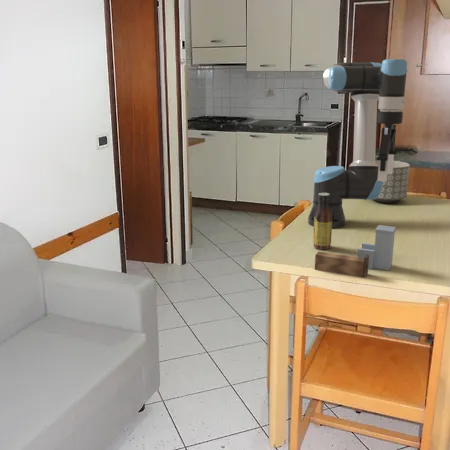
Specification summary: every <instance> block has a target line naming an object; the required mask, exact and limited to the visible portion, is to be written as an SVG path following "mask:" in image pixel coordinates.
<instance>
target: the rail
mask: <svg viewBox="0 0 450 450" xmlns="http://www.w3.org/2000/svg"><path fill="white" fill-rule="evenodd" d="M314 257H315V258H314V270H315V271H323V272H327V273H334V274H340V275H345V276H346V275H347V276H350V277H351V276H353V277H359V278H364V279H366V277H367V276H368V274H369V273H368V271H369V268H368V264H369V255H368V254H366V256H365V257H364V258H360V257H357V256H351V255H345V254H338V253H332V252H325V251H317V253H315V256H314Z"/></svg>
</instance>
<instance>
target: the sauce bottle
mask: <svg viewBox="0 0 450 450" xmlns="http://www.w3.org/2000/svg"><path fill="white" fill-rule="evenodd" d="M318 198H319V200H318V207H317V210H316V212H315V215H314V226H313V241H312V243H313V248H314V249H317V250H322V251H325V250H329V249H330V248H331V246H332V245H331V244H332V231H333V228H332V212H331V210H330V208H329V199H330V194H329V193H319V194H318Z"/></svg>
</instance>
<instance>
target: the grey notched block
mask: <svg viewBox="0 0 450 450" xmlns="http://www.w3.org/2000/svg"><path fill="white" fill-rule="evenodd" d="M396 231H397V227H396V226H392V225H391V226H389V225H382V224H378V225H377V227H376V228H375V230H374V233H375V239H374V243H373V244H372V243H367V242H365V243H364V242H363V243H361V248H360V247H359V248H358V249H357V256H356V257H360V258H364V257H365V256H366V254H368V255H369V264H368V270H373V269H376V270H382V269H383V271H390V270H389V269H391V268H390V267H392V265H393V256H394V245H395V244H394V243H395V233H396Z"/></svg>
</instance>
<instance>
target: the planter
mask: <svg viewBox="0 0 450 450" xmlns="http://www.w3.org/2000/svg"><path fill="white" fill-rule="evenodd" d="M375 162H376V163H377V164H378V166H379V160H375ZM410 167H411V164H409V163H408V162H404V161H399V160H393V172H392V174H387V181H386V182H385V181H383V183H382V188H381V192H380V194H379V196H378V197H377V198H376V199H373V200H374V201H376V202H378V203H381V204H382V203H383V204H385V203H386V204H392V203H396V202H398V201H400V200H402V199H406V198H407V196H408V189H409V187H408V186H409V179H410V178H409V176H410Z"/></svg>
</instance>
